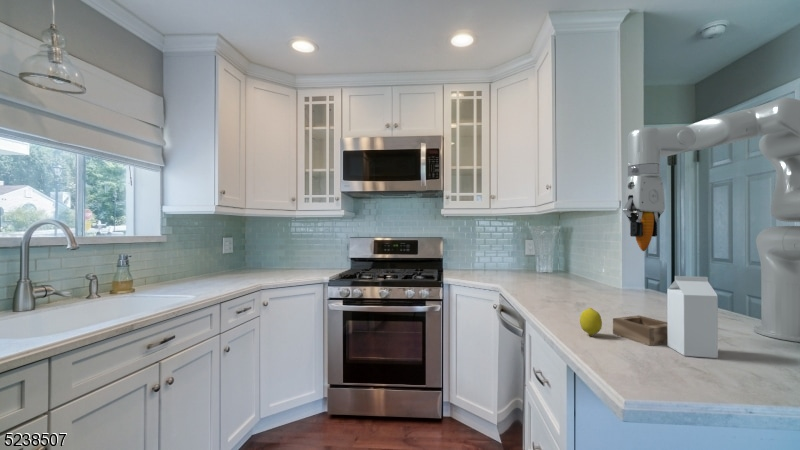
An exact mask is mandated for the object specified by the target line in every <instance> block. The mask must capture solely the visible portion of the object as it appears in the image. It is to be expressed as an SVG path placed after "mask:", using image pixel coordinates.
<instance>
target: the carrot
mask: <svg viewBox="0 0 800 450" xmlns="http://www.w3.org/2000/svg"><path fill="white" fill-rule="evenodd" d="M636 216H637V214H636ZM641 222H643V236H642V237H635V240H636V242H637V245H638V247H639V248H640V250H641V251H642V252H645V251H646V250H647V249H648V248H649V246H650V244H651V240H652V234H653V226H654V215H653V213H652V212H645V211H643V213H642V218H641Z"/></svg>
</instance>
